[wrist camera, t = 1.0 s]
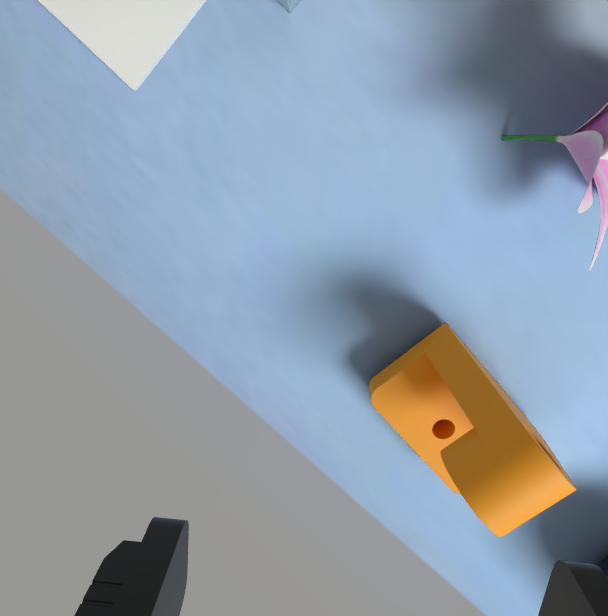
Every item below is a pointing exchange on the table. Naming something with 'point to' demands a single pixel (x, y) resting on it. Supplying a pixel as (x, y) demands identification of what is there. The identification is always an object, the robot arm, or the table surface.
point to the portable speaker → (604, 567)
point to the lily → (587, 161)
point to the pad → (126, 30)
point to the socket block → (289, 4)
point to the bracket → (469, 431)
